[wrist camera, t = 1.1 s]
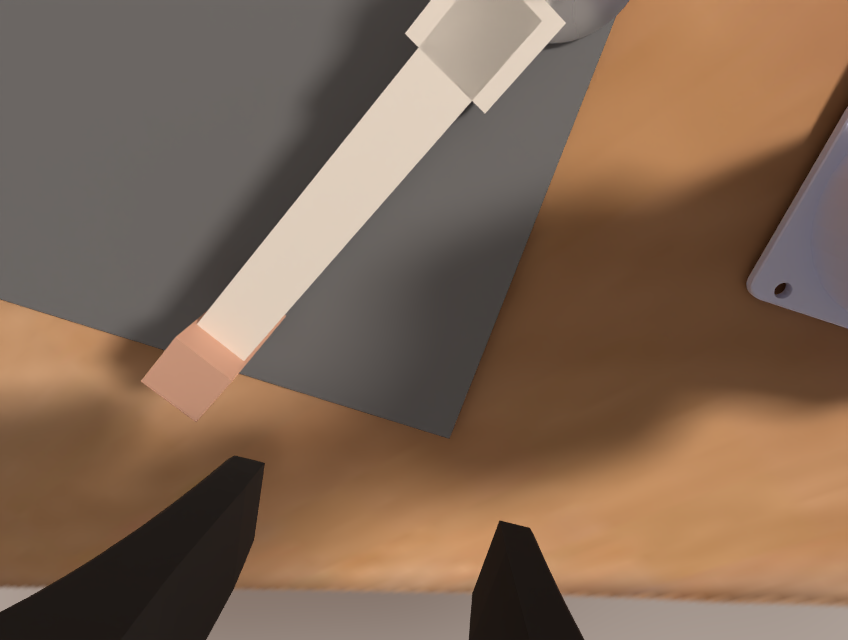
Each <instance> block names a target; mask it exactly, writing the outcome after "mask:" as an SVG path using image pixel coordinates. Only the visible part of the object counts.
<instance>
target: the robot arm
mask: <svg viewBox="0 0 848 640" xmlns="http://www.w3.org/2000/svg"><path fill="white" fill-rule="evenodd" d="M781 283H786V287H785V289H784V291H783V292H782V293H779V294H774V291H775V288H776V287H777V286H778V285H779V284H781ZM746 285H747V290H748V291H749V293H750V294H751V295H753V296H754V297H756V298H757V299H759V300H762V301H765V302H768V303H771V304H774V305H777V306H780V307H783V308H786V309H790V310H793V311H796V312H799V313H802V314H805V315H808V316H811V317H814V318H817V319H820V320H823V321H826V322H829V323H832V324H835V325H838V326H841V327H844V328H848V107H847V108H846V110H845V112H844V113H843V115H842V117H841V119H840V120H839V122H838V124H837V125H836V127H835V129H834V131H833V132H832V134H831V136H830V138H829V139H828V141H827V143H826V144H825V146H824V148H823V150H822V151H821V153H820V155H819V157H818V158H817V160H816V162H815V163H814V165H813V167H812V169H811V170H810V172H809V174H808V175H807V177H806V179H805V181H804V182H803V184H802V186H801V188H800V189H799V191H798V193H797V194H796V196H795V198H794V200H793V201H792V203H791V205H790V207H789V208H788V210H787V212H786V213H785V215H784V217H783V219H782V220H781V222H780V224H779V225H778V227H777V229H776V231H775V232H774V234H773V236H772V238H771V239H770V241H769V243H768V244H767V246H766V248H765V250H764V251H763V253H762V255H761V256H760V258H759V260H758V262H757V263H756V265H755V267H754V269H753V270H752V272H751V274H750V275H749V277H748V280H747V283H746ZM264 465H265V463H263V462H259V461H255V460H251V459H247V458H242V457H238V456H233V457H231V458H229V459H228V460H226V461H225V462H224V463H223V464H222V465H221V466H219V467H218V468H217V469H216V470H214V471H213V472H212V473H211V474H210V475H208V476H207V477H206V478H205V479H203V480H202V481H201V482H200V483H198V484H197V485H196V486H195V487H193V488H192V489H191V490H190V491H188V492H187V493H186V494H184V495H183V496H182V497H181V498H179V499H178V500H177V501H175V502H174V503H173V504H171V505H170V506H169V507H167V508H166V509H165V510H163V511H162V512H160V513H159V514H158V515H156V516H155V517H154V518H152V519H151V520H150V521H148V522H147V523H146V524H144V525H143V526H141V527H140V528H138V529H137V530H136V531H134V532H133V533H131V534H130V535H128V536H127V537H125V538H124V539H122V540H121V541H119V542H118V543H116V544H115V545H113V546H112V547H110V548H109V549H107V550H106V551H104V552H103V553H101V554H100V555H98V556H97V557H95V558H94V559H92V560H90V561H89V562H87V563H86V564H84V565H82V566H81V567H79V568H78V569H76V570H74V571H73V572H71V573H69V574H68V575H66V576H64V577H63V578H61V579H59V580H58V581H56V582H54V583H52V584H51V585H49V586H47V587H45V588H44V589H42V590H40V591H38V592H37V593H35V594H33V595H31V596H30V597H28V598H26V599H24V600H22V601H20V602H18V603H16V604H15V605H13V606H11V607H9V608H7V609H5V610H3V611H1V612H0V640H206V639H207V637H208V635H209V633H210V631H211V630H212V628H213V626H214V624H215V622H216V621H217V619H218V617H219V615H220V613H221V611H222V609H223V608H224V606H225V604H226V602H227V600H228V598H229V596H230V595H231V593H232V591H233V589H234V587H235V584H236V582H237V580H238V577H239V575H240V573H241V570H242V568H243V565H244V563H245V561H246V558H247V556H248V553H249V551H250V548H251V546H252V544H253V541H254V536H255V529H256V522H257V515H258V507H259V500H260V493H261V486H262V479H263V472H264ZM469 640H584V638H583V636H582V634H581V632H580V630H579V628H578V627H577V625H576V623H575V621H574V619H573V617H572V615H571V613H570V611H569V610H568V607H567V605H566V604H565V601H564V599H563V597H562V595H561V593H560V591H559V589H558V587H557V585H556V583H555V581H554V578H553V576H552V574H551V572H550V570H549V568H548V566H547V563H546V561H545V559H544V557H543V555H542V552H541V550H540V548H539V546H538V543H537V541H536V539H535V537H534V534H533V533H532V531H531V529H530V528H528V527H524V526H520V525H516V524H512V523H507V522H503V521H499V524H498V526H497V529H496V532H495V534H494V537H493V540H492V542H491V545H490V548H489V550H488V553H487V556H486V558H485V561H484V564H483V566H482V569H481V572H480V575H479V577H478V580H477V583H476V585H475V588H474V591H473V593H472V605H471V617H470V631H469Z"/></svg>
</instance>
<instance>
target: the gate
mask: <svg viewBox="0 0 848 640" xmlns="http://www.w3.org/2000/svg"><path fill="white" fill-rule="evenodd" d="M565 24H566V22H565V21H564V20H563V19H562V18H561V17H560V16H559V15H558V14H557V13H556V12H555V11H554V9H553V8H552V7H551V6H550V5H549V4H548V3H547V2H546V1H545V0H431V1H430V2H429V3H428V5H427V6H426V7H425V9H424V10H423V11H422V12H421V14H420V15H419V16H418V17H417V19H416V20H415V21H414V23H413V24H412V25H411V26H410V28H409V29H408V30H407V32H406V33H405V34H406V35H407V36H408V37H409V38H410V39H411V40H412V41H413V42H414V43H415V44H416V45H417V46H418V47H419V48H418V49H417V50H416V51H415V53H414V54H413V55H412V56H411V58H410V59H409V60H408V61H407V63H406V64H405V65H404V66H403V68H402V69H401V70H400V71H399V73H398V74H397V75H396V76H395V78H394V79H393V80H392V81H391V83H390V84H389V85H388V86H387V88H386V89H385V90H384V91H383V93H382V94H381V95H380V96H379V98H378V99H377V100H376V101H375V103H374V104H373V105H372V106H371V107H370V109H369V110H368V111H367V112H366V114H365V115H364V116H363V117H362V119H361V120H360V121H359V122H358V124H357V125H356V126H355V127H354V129H353V130H352V131H351V132H350V134H349V135H348V136H347V137H346V139H345V140H344V141H343V142H342V144H341V145H340V146H339V147H338V149H337V150H336V151H335V152H334V154H333V155H332V156H331V157H330V159H329V160H328V161H327V162H326V164H325V165H324V166H323V167H322V169H321V170H320V171H319V172H318V174H317V175H316V176H315V177H314V179H313V180H312V181H311V182H310V184H309V185H308V186H307V187H306V189H305V190H304V191H303V192H302V194H301V195H300V196H299V197H298V199H297V200H296V201H295V202H294V204H293V205H292V206H291V207H290V209H289V210H288V211H287V212H286V214H285V215H284V216H283V217H282V219H281V220H280V221H279V222H278V224H277V225H276V226H275V227H274V229H273V230H272V231H271V232H270V234H269V235H268V236H267V237H266V239H265V240H264V241H263V242H262V244H261V245H260V246H259V247H258V249H257V250H256V251H255V252H254V254H253V255H252V256H251V257H250V258H249V260H248V261H247V262H246V263H245V265H244V266H243V267H242V268H241V270H240V271H239V272H238V273H237V275H236V276H235V277H234V278H233V280H232V281H231V282H230V283H229V285H228V286H227V287H226V288H225V290H224V291H223V292H222V293H221V295H220V296H219V297H218V298H217V300H216V301H215V302H214V303H213V305H212V306H211V307H210V308H209V310H208V311H206V312H205V313H204V314H203V315H202V316H200V317H199V318H198V319H197V320H196V321H194V322H193V323H192V324H191V325H190V326H188V327H187V328H186V329H185V330H184V331H182V332H181V333H180V334H179V335H178V336H176V337H175V338H174V340H173V341H172V342H171V343H170V345H169V346H168V347H167V349H166V350H165V351H164V352H163V354H162V355H161V356H160V357H159V359H158V360H157V361H156V362H155V364H154V365H153V366H152V367H151V369H150V370H149V371H148V373H147V374H146V375H145V376H144V378H143V379H142V380H141V382H142V383H144V384H145V385H146V386H148V387H149V388H150V389H152V390H153V391H154V392H156V393H157V394H159V395H160V396H161V397H163V398H164V399H165V400H167V401H168V402H169V403H171V404H172V405H173V406H175V407H176V408H178V409H179V410H180V411H182V412H183V413H184V414H186V415H187V416H188V417H190V418H191V419H192V420H194V421H195V422H197V421H198V419H199V418H200V417H201V416H202V415H203V414H204V413H205V411H206V410H207V409H208V408H209V407H210V406H211V405H212V404H213V402H214V401H215V400H216V399H217V398H218V397H219V396H220V394H221V393H222V392H223V391H224V390H225V389H226V388H227V387H228V385H229V384H230V383H231V382H232V381H233V380H234V378H235V377H236V376H237V375H238V374H239V372H240V371H241V370H242V369H243V368H244V366H245V365H246V364H247V363H248V362H249V360H250V359H251V358H252V357H253V355H254V354H255V353H256V352H257V351H258V349H259V348H260V347H261V346H262V345H263V343H264V342H265V341H266V340H267V339H268V337H269V336H270V335H271V334H272V333H273V331H274V330H275V329H276V328H277V327H278V325H279V324H280V323H281V322H282V320H283V319H284V318H285V317H286V315H285V314H286V313H287V312H288V310H289V309H290V308H291V307H292V306H293V305H294V304H295V302H296V301H297V300H298V299H299V298H300V297H301V296H302V294H303V293H304V292H305V291H306V290H307V289H308V288H309V286H310V285H311V284H312V283H313V282H314V281H315V280H316V278H317V277H318V276H319V275H320V274H321V273H322V272H323V270H324V269H325V268H326V267H327V266H328V265H329V264H330V262H331V261H332V260H333V259H334V258H335V257H336V256H337V254H338V253H339V252H340V251H341V250H342V249H343V248H344V246H345V245H346V244H347V243H348V242H349V241H350V240H351V238H352V237H353V236H354V235H355V234H356V233H357V232H358V230H359V229H360V228H361V227H362V226H363V225H364V224H365V222H366V221H367V220H368V219H369V218H370V217H371V216H372V214H373V213H374V212H375V211H376V210H377V209H378V208H379V206H380V205H381V204H382V203H383V202H384V201H385V200H386V199H387V197H388V196H389V195H390V194H391V193H392V192H393V191H394V189H395V188H396V187H397V186H398V185H399V184H400V183H401V181H402V180H403V179H404V178H405V177H406V176H407V175H408V173H409V172H410V171H411V170H412V169H413V168H414V167H415V165H416V164H417V163H418V162H419V161H420V160H421V159H422V157H423V156H424V155H425V154H426V153H427V152H428V151H429V149H430V148H431V147H432V146H433V145H434V144H435V143H436V141H437V140H438V139H439V138H440V137H441V136H442V135H443V133H444V132H445V131H446V130H447V129H448V128H449V127H450V125H451V124H452V123H453V122H454V121H455V120H456V119H457V117H458V116H459V115H460V114H461V113H462V112H463V111H464V109H465V108H466V107H467V106H468V105H469V104H470V103H471V101H473V102H474V103H475V104H476V105H477V106H478V107H479V108H480V109H481V110H482V111H483V112H484V113H486V112H487V111H488V110H489V109H490V108H491V106H492V105H493V104H494V103H495V102H496V101H497V100H498V99H499V97H500V96H501V95H502V94H503V93H504V92H505V91H506V90H507V89H508V87H509V86H510V85H511V84H512V83H513V82H514V81H515V80H516V78H517V77H518V76H519V75H520V74H521V73H522V72H523V71H524V70H525V68H526V67H527V66H528V65H529V64H530V63H531V62H532V61H533V59H534V58H535V57H536V56H537V55H538V54H539V53H540V52H541V51H542V49H543V48H544V47H545V46H546V45H547V44H548V43H549V42H550V40H551V39H552V38H553V37H554V36H555V35H556V34H557V33H558V32H559V30H560V29H561V28H562V27H563V26H564V25H565Z"/></svg>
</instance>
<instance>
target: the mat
mask: <svg viewBox="0 0 848 640" xmlns="http://www.w3.org/2000/svg"><path fill="white" fill-rule="evenodd" d="M430 1H431V0H0V299H1V300H5V301H8V302H11V303H14V304H17V305H21V306H24V307H27V308H30V309H34V310H37V311H40V312H43V313H46V314H50V315H53V316H56V317H59V318H63V319H66V320H69V321H72V322H75V323H79V324H82V325H85V326H88V327H91V328H95V329H98V330H101V331H104V332H108V333H111V334H114V335H117V336H120V337H124V338H127V339H130V340H133V341H137V342H140V343H143V344H146V345H149V346H153V347H156V348H159V349H162V350H166V349H167V347H168V346H169V345H170V343H171V342H172V341H173V340H174V338H175V337H176V336H178V335H179V334H180V333H181V332H182V331H184V330H185V329H186V328H187V327H188V326H190V325H191V324H192V323H193V322H194V321H196V320H197V319H198V318H199V317H200V316H202V315H203V314H204V313H205V312H206V311H208V310H209V308H210V307H211V306H212V305H213V303H214V302H215V301H216V300H217V298H218V297H219V296H220V295H221V293H222V292H223V291H224V290H225V288H226V287H227V286H228V285H229V283H230V282H231V281H232V280H233V278H234V277H235V276H236V275H237V273H238V272H239V271H240V270H241V268H242V267H243V266H244V265H245V263H246V262H247V261H248V260H249V258H250V257H251V256H252V255H253V254H254V252H255V251H256V250H257V249H258V247H259V246H260V245H261V244H262V242H263V241H264V240H265V239H266V237H267V236H268V235H269V234H270V232H271V231H272V230H273V229H274V227H275V226H276V225H277V224H278V222H279V221H280V220H281V219H282V217H283V216H284V215H285V214H286V212H287V211H288V210H289V209H290V207H291V206H292V205H293V204H294V202H295V201H296V200H297V199H298V197H299V196H300V195H301V194H302V192H303V191H304V190H305V189H306V187H307V186H308V185H309V184H310V182H311V181H312V180H313V179H314V177H315V176H316V175H317V174H318V172H319V171H320V170H321V169H322V167H323V166H324V165H325V164H326V162H327V161H328V160H329V159H330V157H331V156H332V155H333V154H334V152H335V151H336V150H337V149H338V147H339V146H340V145H341V144H342V142H343V141H344V140H345V139H346V137H347V136H348V135H349V134H350V132H351V131H352V130H353V129H354V127H355V126H356V125H357V124H358V122H359V121H360V120H361V119H362V117H363V116H364V115H365V114H366V112H367V111H368V110H369V109H370V107H371V106H372V105H373V104H374V103H375V101H376V100H377V99H378V98H379V96H380V95H381V94H382V93H383V91H384V90H385V89H386V88H387V86H388V85H389V84H390V83H391V81H392V80H393V79H394V78H395V76H396V75H397V74H398V73H399V71H400V70H401V69H402V68H403V66H404V65H405V64H406V63H407V61H408V60H409V59H410V58H411V56H412V55H413V54H414V53H415V51H416V50H417V49H418V48H419V47H418V46H417V45H416V44H415V43H414V42H413V41H412V40H411V39H410V38H409V37H408V36H407V35H406V34H405V33H406V32H407V30H408V29H409V28H410V26H411V25H412V24H413V23H414V21H415V20H416V19H417V17H418V16H419V15H420V14H421V12H422V11H423V10H424V9H425V7H426V6H427V5H428V3H429V2H430ZM615 18H616V16H615V17H614V18H613V19H612V20H611V21H610V22H608V23H607V24H606V25H605V26H603V27H602V28H600V29H598V30H597V31H595V32H593V33H591V34H589V35H587V36H585V37H583V38H580V39H577V40H574V41H570V42H565V43H554V44H549V43H548V44H547V45H546V46H545V47H544V48H543V49H542V51H541V52H540V53H539V54H538V55H537V56H536V57H535V58H534V59H533V61H532V62H531V63H530V64H529V65H528V66H527V67H526V68H525V70H524V71H523V72H522V73H521V74H520V75H519V76H518V77H517V78H516V80H515V81H514V82H513V83H512V84H511V85H510V86H509V87H508V89H507V90H506V91H505V92H504V93H503V94H502V95H501V96H500V97H499V99H498V100H497V101H496V102H495V103H494V104H493V105H492V106H491V108H490V109H489V110H488V111H487V112H486V113H484V112H483V111H482V110H481V109H480V108H479V107H478V106H477V105H476V104H475V103H474V102H473V101H471V103H470V104H469V105H468V106H467V107H466V108H465V109H464V111H463V112H462V113H461V114H460V115H459V116H458V117H457V119H456V120H455V121H454V122H453V123H452V124H451V125H450V127H449V128H448V129H447V130H446V131H445V132H444V133H443V135H442V136H441V137H440V138H439V139H438V140H437V141H436V143H435V144H434V145H433V146H432V147H431V148H430V149H429V151H428V152H427V153H426V154H425V155H424V156H423V157H422V159H421V160H420V161H419V162H418V163H417V164H416V165H415V167H414V168H413V169H412V170H411V171H410V172H409V173H408V175H407V176H406V177H405V178H404V179H403V180H402V181H401V183H400V184H399V185H398V186H397V187H396V188H395V189H394V191H393V192H392V193H391V194H390V195H389V196H388V197H387V199H386V200H385V201H384V202H383V203H382V204H381V205H380V206H379V208H378V209H377V210H376V211H375V212H374V213H373V214H372V216H371V217H370V218H369V219H368V220H367V221H366V222H365V224H364V225H363V226H362V227H361V228H360V229H359V230H358V232H357V233H356V234H355V235H354V236H353V237H352V238H351V240H350V241H349V242H348V243H347V244H346V245H345V246H344V248H343V249H342V250H341V251H340V252H339V253H338V254H337V256H336V257H335V258H334V259H333V260H332V261H331V262H330V264H329V265H328V266H327V267H326V268H325V269H324V270H323V272H322V273H321V274H320V275H319V276H318V277H317V278H316V280H315V281H314V282H313V283H312V284H311V285H310V286H309V288H308V289H307V290H306V291H305V292H304V293H303V294H302V296H301V297H300V298H299V299H298V300H297V301H296V302H295V304H294V305H293V306H292V307H291V308H290V309H289V310H288V312H287V313H286V314H285V315H286V317H285V318H284V319H283V320H282V322H281V323H280V324H279V325H278V327H277V328H276V329H275V330H274V331H273V333H272V334H271V335H270V336H269V337H268V339H267V340H266V341H265V342H264V343H263V345H262V346H261V347H260V348H259V349H258V351H257V352H256V353H255V354H254V355H253V357H252V358H251V359H250V360H249V362H248V363H247V364H246V365H245V366H244V368H243V369H242V370H241V371H240V372H239V373H240V374H243V375H246V376H249V377H252V378H256V379H259V380H262V381H265V382H268V383H272V384H275V385H278V386H281V387H285V388H288V389H291V390H294V391H297V392H301V393H304V394H307V395H310V396H314V397H317V398H320V399H323V400H326V401H330V402H333V403H336V404H339V405H343V406H346V407H349V408H352V409H355V410H359V411H362V412H365V413H368V414H371V415H375V416H378V417H381V418H384V419H388V420H391V421H394V422H397V423H400V424H404V425H407V426H410V427H413V428H417V429H420V430H423V431H426V432H429V433H433V434H436V435H439V436H442V437H445V438H450V436H451V433H452V431H453V428H454V425H455V423H456V420H457V418H458V415H459V413H460V410H461V408H462V405H463V403H464V400H465V398H466V395H467V393H468V390H469V387H470V385H471V382H472V380H473V377H474V375H475V372H476V370H477V367H478V365H479V362H480V360H481V357H482V355H483V352H484V349H485V347H486V344H487V342H488V339H489V337H490V334H491V332H492V329H493V327H494V324H495V322H496V319H497V317H498V314H499V311H500V309H501V306H502V304H503V301H504V299H505V296H506V294H507V291H508V289H509V286H510V284H511V281H512V279H513V276H514V273H515V271H516V268H517V266H518V263H519V261H520V258H521V256H522V253H523V251H524V248H525V246H526V243H527V241H528V238H529V235H530V233H531V230H532V228H533V225H534V223H535V220H536V218H537V215H538V213H539V210H540V208H541V205H542V203H543V200H544V197H545V195H546V192H547V190H548V187H549V185H550V182H551V180H552V177H553V175H554V172H555V170H556V167H557V165H558V162H559V159H560V157H561V154H562V152H563V149H564V147H565V144H566V142H567V139H568V137H569V134H570V132H571V129H572V127H573V124H574V121H575V119H576V116H577V114H578V111H579V109H580V106H581V104H582V101H583V99H584V96H585V94H586V91H587V89H588V86H589V83H590V81H591V78H592V76H593V73H594V71H595V68H596V66H597V63H598V61H599V58H600V56H601V53H602V51H603V48H604V45H605V43H606V40H607V38H608V35H609V33H610V30H611V28H612V25H613V23H614V20H615Z"/></svg>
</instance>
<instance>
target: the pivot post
mask: <svg viewBox="0 0 848 640" xmlns="http://www.w3.org/2000/svg"><path fill="white" fill-rule="evenodd" d="M545 1H546V2H547V3H548V4H549V5H550V6H551V7H552V8H553V9H554V11H555V12H556V13H557V14H558V15H559V16H560V17H561V18H562V19H563V20H564V21H565V22H566V24H565V25H564V26H563V27H562V28H561V29H560V30H559V32H558V33H557V34H556V35H555V36H554V37H553V38H552V39H551V40H550V42H549V44H554V43H565V42H570V41H574V40H577V39H580V38H583V37H585V36H587V35H589V34H591V33H593V32H595V31H597V30H598V29H600V28H602V27H603V26H605V25H606V24H607V23H608V22H610V21H611V20H612V19H613V18H614V17H615V16H616V15H617V14H618V13H619V12H620V11H621V10H622V9H623V8H624V7H625V5H626V4H627V3H628V2H629V0H545Z"/></svg>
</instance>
